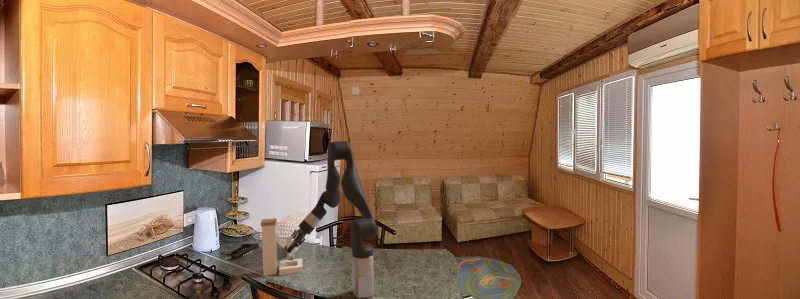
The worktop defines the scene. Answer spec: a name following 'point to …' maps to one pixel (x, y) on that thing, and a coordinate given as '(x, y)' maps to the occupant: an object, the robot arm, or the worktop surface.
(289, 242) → the steel pin
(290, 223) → the heart
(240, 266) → the worktop surface
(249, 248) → the door handle
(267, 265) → the slotted post
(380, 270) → the worktop surface
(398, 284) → the worktop surface
